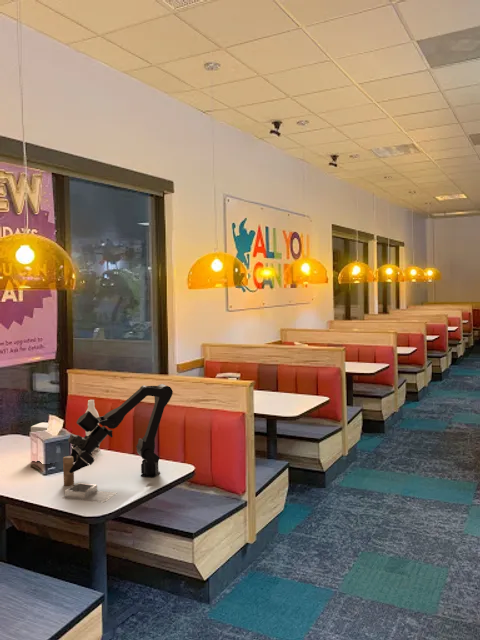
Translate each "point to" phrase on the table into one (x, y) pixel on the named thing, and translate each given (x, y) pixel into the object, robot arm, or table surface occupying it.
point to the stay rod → (66, 468)
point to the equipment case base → (96, 496)
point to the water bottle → (94, 412)
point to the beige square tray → (87, 489)
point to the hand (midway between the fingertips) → (67, 469)
